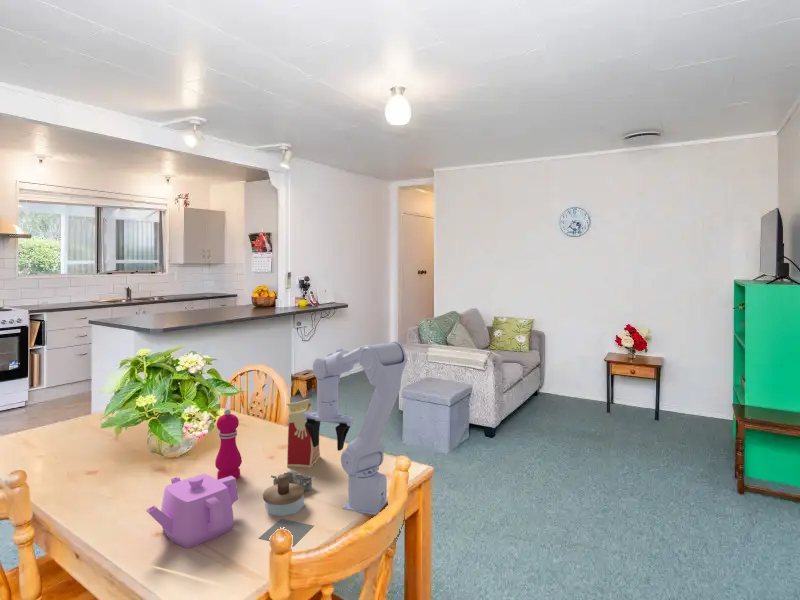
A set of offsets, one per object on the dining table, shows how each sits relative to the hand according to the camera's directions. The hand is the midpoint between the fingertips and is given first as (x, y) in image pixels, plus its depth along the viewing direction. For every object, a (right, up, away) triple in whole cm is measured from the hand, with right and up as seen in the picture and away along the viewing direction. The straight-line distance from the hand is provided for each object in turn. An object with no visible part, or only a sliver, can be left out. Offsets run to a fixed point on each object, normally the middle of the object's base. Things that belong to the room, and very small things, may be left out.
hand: (328, 447), depth 138 cm
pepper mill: (-29, -10, +5) cm, 31 cm away
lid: (-9, -8, -14) cm, 18 cm away
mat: (-6, -12, -25) cm, 28 cm away
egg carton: (-9, -11, -2) cm, 15 cm away
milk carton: (-10, -9, +16) cm, 21 cm away
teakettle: (-28, -12, -23) cm, 38 cm away
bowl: (-9, -11, -13) cm, 19 cm away
